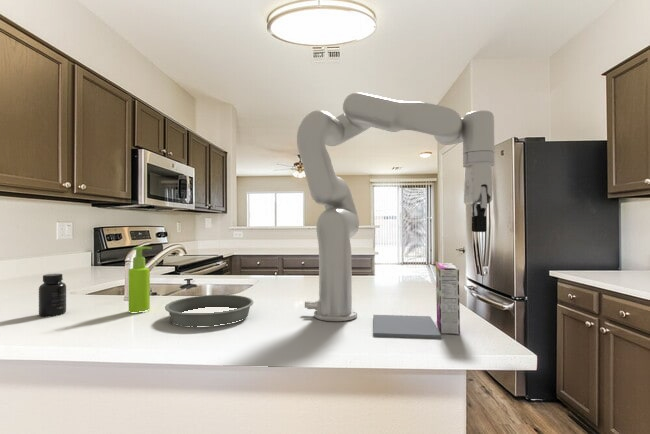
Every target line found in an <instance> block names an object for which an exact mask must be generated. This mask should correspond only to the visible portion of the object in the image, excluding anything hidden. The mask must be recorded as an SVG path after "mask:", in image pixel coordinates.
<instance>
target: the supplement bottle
mask: <svg viewBox="0 0 650 434" xmlns="http://www.w3.org/2000/svg"><path fill="white" fill-rule="evenodd" d="M63 280H64V279H63V274H62V273H47V274H44V275H43V276H42V282H43V283H41V285H39V287H38V315H39V316H40V317H43V318H49V317H48V316H51V317H57V316H56V315H58V316H60V315H61V314H62V315H64V314H66V312H67V285H66V283H65V282H63ZM62 315H61V316H62ZM46 316H47V317H46Z"/></svg>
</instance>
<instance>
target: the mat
mask: <svg viewBox="0 0 650 434" xmlns="http://www.w3.org/2000/svg"><path fill="white" fill-rule="evenodd" d="M372 316H373V317H372V318H373V324H372V325H373V330H372V331H373V337H381V338H382V337H383V338H384V337H388V338H411V339H414V338H415V339H442V338H443V337H442V334H441V333H440V330H439V327H437V325H436V324H435V322H434V321H433V319H432V316H430V315H429V316H428V315H400V314H399V315H395V314H388V315H387V314H373V315H372Z"/></svg>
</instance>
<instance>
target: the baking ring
mask: <svg viewBox="0 0 650 434" xmlns="http://www.w3.org/2000/svg"><path fill="white" fill-rule="evenodd" d="M253 305H254V300H253V299H252V298H250V297H247V296H243V295H236V294H235V295H234V294H208V295H206V294H205V295H199V296H198V295H197V296H190V297H185V298H184V297H183V298H181V299H180V298H179V299H176V300H173V301H170V302H169V303H167V304H166V305H165V307H164V308H165V309H164V310H165V311H166V312H168V313H169V316H170V321H171V323H172V322H173V323H175V324H178V325H182V326H181V327H183V326H190V327H189V328H196V327H197V326H214V325H220V324H227V323H232V322H236V321H239V320H242V319H244V318H246V317H247V316H249V313H250V307H251V306H253ZM205 307H229V308H237V309H234V310H229V311H223V312H214V313H182V312H184V311H188V310H193V309H198V308H205ZM247 318H248V317H247ZM247 318H246V319H247ZM244 320H245V319H244ZM242 321H243V320H242ZM173 323H172V324H173ZM175 324H174V325H175ZM178 325H177V326H178ZM191 326H193V327H191Z"/></svg>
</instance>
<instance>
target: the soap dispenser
mask: <svg viewBox="0 0 650 434" xmlns="http://www.w3.org/2000/svg"><path fill="white" fill-rule="evenodd" d="M132 249H133V250H135V253H136V255H135V257H133V259H132V265H133V266H132V268H130V269H128V312H129V311H130V312H139V311H145V310H148V309H150V308H151V306H150V305H151V304H150V300H151V299H150V298H151V297H150V296H151V295H150V289H151V288H150V279H151V278H150V277H151V273H150V271H151V270H150V268H149V267H146V258H145V257H144V256H143V250H145V249H146V250H147V249H148V250H152V249H153V247H151V246H135V247H133V248H132Z"/></svg>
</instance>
